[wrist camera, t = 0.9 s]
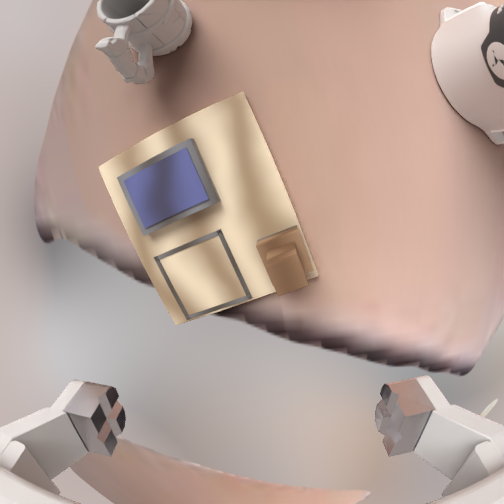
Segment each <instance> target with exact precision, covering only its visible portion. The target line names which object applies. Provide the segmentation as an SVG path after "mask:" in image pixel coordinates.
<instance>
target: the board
mask: <svg viewBox="0 0 504 504" xmlns="http://www.w3.org/2000/svg"><path fill="white" fill-rule="evenodd" d="M99 170H100V172H101V175H102V177H103V180H104V182H105V184H106V187H107V189H108V191H109V194H110V196H111V198H112V201H113V203H114V205H115V207H116V210H117V212H118V214H119V216H120V218H121V221H122V223H123V225H124V227H125V229H126V231H127V233H128V235H129V238H130V240H131V242H132V244H133V246H134V248H135V250H136V252H137V254H138V256H139V258H140V260H141V262H142V264H143V266H144V268H145V270H146V271H147V273H148V275H149V277H150V279H151V281H152V283H153V285H154V287H155V288H156V290H157V292H158V294H159V296H160V298H161V299H162V301H163V303H164V305H165V307H166V308H167V310H168V312H169V314H170V315H171V317H172V318H173V321H174V322H175V324H176V325H178V324H181V323H185V322H188V321H191V320H194V319H197V318H200V317H203V316H206V315H209V314H212V313H215V312H218V311H221V310H224V309H227V308H230V307H233V306H236V305H239V304H242V303H245V302H248V301H251V300H254V299H257V298H259V297H262V296H265V295H268V294H271V293H273V292H276V290H275V288H274V286H273V285H272V283H271V280H270V278H269V276H268V273H267V271H266V269H265V266H264V264H263V262H262V259H261V257H260V255H259V252H258V250H257V248H256V244H257V240H259V239H262V238H264V237H267V236H269V235H272V234H274V233H277V232H280V231H282V230H285V229H287V228H290V227H293V226H295V225H297V227H298V230H299V232H300V235H301V237H302V240H303V243H304V245H305V248H306V250H307V253H308V256H309V258H310V261H311V264H312V267H313V270H314V271H311V272H308V273H306V277H307V280H309V279H312V278H314V277H317V276H319V275H318V272H317V269H316V267H315V264H314V261H313V258H312V256H311V253H310V250H309V248H308V245H307V242H306V240H305V237H304V235H303V232H302V229H301V227H300V224H299V222H298V219H297V216H296V214H295V211H294V209H293V206H292V204H291V201H290V199H289V196H288V194H287V191H286V189H285V187H284V184H283V182H282V179H281V177H280V174H279V172H278V170H277V167H276V165H275V162H274V160H273V158H272V155H271V153H270V151H269V148H268V146H267V144H266V141H265V139H264V137H263V134H262V132H261V130H260V128H259V125H258V123H257V121H256V119H255V116H254V114H253V112H252V110H251V108H250V105H249V103H248V101H247V99H246V97H245V95H244V92H240V93H238V94H236V95H233V96H231V97H229V98H226V99H224V100H222V101H219V102H217V103H215V104H213V105H211V106H208V107H206V108H204V109H202V110H200V111H198V112H196V113H194V114H192V115H190V116H187V117H185V118H183V119H181V120H179V121H178V122H176V123H174V124H172V125H170V126H168V127H166V128H164V129H162V130H160V131H158V132H157V133H155V134H153V135H151V136H149V137H148V138H146V139H144V140H142V141H141V142H139V143H137V144H135V145H134V146H132V147H130V148H129V149H127V150H125V151H124V152H122V153H120V154H119V155H117V156H115V157H114V158H112V159H111V160H109V161H107V162H106V163H104V164H103V165H101V166H100V167H99Z"/></svg>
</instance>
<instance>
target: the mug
mask: <svg viewBox="0 0 504 504" xmlns="http://www.w3.org/2000/svg"><path fill="white" fill-rule="evenodd" d="M97 13H98V16H99V18H100V19H101V20H102V21H103V22H104V23H106V24H107V25H108V27H109V28H110V30H111V31H112V32H113V33H114V37H107V38H104V39H102V40H100V41H99V42H98V43H97V45H96V49H98V50H101V51H102V52H104V53H105V54H106V55H107V56H108V59H109V60H110V61H111V62H112V63H113V65H114V66H115V68H116V70H117V71H118V72H120V73H121V75H122V77H123V79H124V81H125V82H127V83H130V82H133V83H134V84H145V83H149V82H150V81H151V79H154V76H155V70H154V66H153V56H161V55H165V54H168V53H171V51H172V52H173V51H175V50H176V49H177V46H182V45H183V44H184V42H185V41H186V40H187V39H188V37H189V35H190V33H191V26H192V14H191V10H190V9H189V8H188V6H187V5H186V4H185V3H184V2H183V1H181V0H100V1H98V3H97ZM128 44H129V46H130V47H131V48H132V49H133V50H135V51H136V52H138V63H137V64H136V63H134V61H133V57H132V54H131V51H130V48H128Z"/></svg>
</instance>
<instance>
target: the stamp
mask: <svg viewBox="0 0 504 504" xmlns="http://www.w3.org/2000/svg"><path fill="white" fill-rule="evenodd" d="M256 248H257V250H258V252H259V255H260V257H261V259H262V262H263V264H264V266H265V269H266V271H267V273H268V276H269V278H270V280H271V283H272V285H273V286H274V288H275V290H276V293H277V295H278V296H280V295H283V294H286V293H289V292H291V291H294V290H297V289H300V288H302V287H305V286H308V281H307V277H306V273H308V272H311V271H314V270H313V267H312V264H311V261H310V258H309V256H308V253H307V250H306V248H305V245H304V243H303V240H302V237H301V235H300V232H299V230H298V227H297V225H295V226H293V227H290V228H287V229H285V230H282V231H280V232H277V233H274V234H272V235H269V236H267V237H264V238H262V239H259V240H257V244H256Z"/></svg>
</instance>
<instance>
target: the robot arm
mask: <svg viewBox="0 0 504 504" xmlns="http://www.w3.org/2000/svg"><path fill="white" fill-rule="evenodd" d="M431 57H432V64H433V68H434V72H435V75H436V78H437V80H438V83H439V85H440V87H441V89H442V91H443V93H444V94H445V96H446V98H447V99H448V101H449V102H450V103H451V105H452V106H453V107H454V108H455V110H456V111H457V112H458V113H459V114H460V115H461V116H462V117H463V118H465V119H466V120H467V121H469V122H470V123H472V124H474V125H476V126H477V127H479V128H481V129H482V130H483V131H484V132H485V133H486V134H487V136H488V137H489V138H490V139H491V140H492V141H493V143H495V144H497V145H499V144H504V3H503V4H502V5H501V6H499V7H495V6H493V5H489V4H485V3H484V2H480V3H477V4H475V5H473V6H471V7H469V8H467V9H465V10H459V9H454V8H449V7H447V8H445V9H443V10H441V14H440V27H439V29H438V31H437V32H436V34H435V36H434V38H433V41H432V47H431ZM380 395H381V397H382V400H381V401H380V402H379V403H378V404H377V407H376V411H375V421H376V426H377V428H378V431H379V432H380V433H382V434H384V435H385V437H384V439H383V443H384V446H385V448H386V451H387V453H388V456H394V455H399V454H403V453H407V452H411V451H414V453H415V454H417V455H418V456H419V457H420V458H422V459H423V460H425V461H426V462H427V463H429V464H430V465H431V466H433V467H434V468H436V469H437V470H438V471H440V472H441V473H442V474H444V475H445V476H447V477H448V478H450V479H451V480H452V481H451V482H450V483H449V485H448V486H447V487H446V489H445V490H444V491H443V493H442V496H443V498H440V499H438V500H435V501H432V502H430V503H427V504H504V426H503V425H501V424H499V423H496V422H494V421H491V420H489V419H487V418H484V417H482V416H480V415H477V414H475V413H473V412H470V411H468V410H466V409H464V408H461V407H459V406H457V405H450V404H449V403H448V401H447V400H446V398H445V397H444V395H443V394H442V393H441V391H440V390H439V389H438V387H437V386H436V384H435V383H434V382H433V380H432V379H431V378H430V377H429V376H428V375H425V376H421V377H416V378H413V379H408V380H402V381H397V382H392V383H386V384H384V385H383V387H382V389H381V392H380ZM118 397H119V395H118V393H117V390H116V388H114V387H112V386H107V385H101V384H96V383H91V382H84V381H80V380H73V381H71V382H70V383H69V385H68V386H67V387H66V389H65V390H64V391H63V392H62V394H61V395H60V396H59V397H58V399H57V400H56V401H55V403H54V404H53V405H52V407H51V408H48V407H46V408H44V409H42V410H40V411H37V412H35V413H33V414H31V415H28V416H26V417H24V418H21V419H19V420H17V421H14V422H12V423H10V424H7V425H5V426H3V427H0V504H80V503H77V502H75V501H72V500H70V499H67V498H65V497H62V496H60V495H59V494H60V491H59V489H58V488H57V486H56V485H55V484H54V483H53V482H52V481H51V479H53V478H54V477H56V476H57V475H59V474H60V473H61V472H63V471H64V470H66V469H67V468H68V467H70V466H71V465H73V464H74V463H75V462H77V461H78V460H80V459H81V458H82V457H84V456H85V455H86V454H88V452H92V453H96V454H101V455H105V456H110V457H111V456H112V453H113V451H114V449H115V447H116V445H117V443H118V442H117V439H116V436H118V435H119V434H121V433H122V431H123V429H124V427H125V420H126V417H125V411H124V408H123V406H122V405H121V404H120V403H119V402H118V401H117V399H118Z"/></svg>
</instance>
